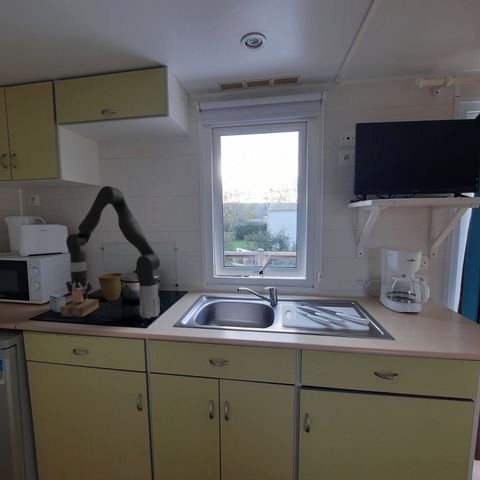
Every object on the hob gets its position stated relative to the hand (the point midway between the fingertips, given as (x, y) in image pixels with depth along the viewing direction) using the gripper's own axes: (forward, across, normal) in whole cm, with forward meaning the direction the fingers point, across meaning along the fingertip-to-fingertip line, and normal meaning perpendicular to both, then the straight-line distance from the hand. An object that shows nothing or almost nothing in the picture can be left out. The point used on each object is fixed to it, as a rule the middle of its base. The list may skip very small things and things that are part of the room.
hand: (80, 299), depth 137 cm
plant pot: (+7, -5, -23) cm, 25 cm away
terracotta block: (+1, 0, 0) cm, 1 cm away
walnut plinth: (+7, 0, 0) cm, 7 cm away
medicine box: (+7, +15, -2) cm, 17 cm away
